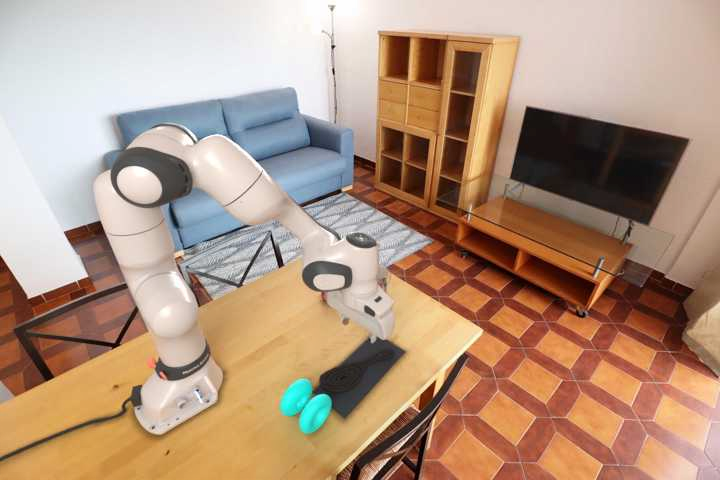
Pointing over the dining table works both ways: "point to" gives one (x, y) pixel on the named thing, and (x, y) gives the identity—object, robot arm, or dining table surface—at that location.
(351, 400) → the placemat
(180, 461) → the dining table surface
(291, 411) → the cyan yo-yo
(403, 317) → the dining table surface
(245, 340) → the dining table surface
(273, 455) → the dining table surface
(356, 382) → the hairbrush
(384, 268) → the french press
